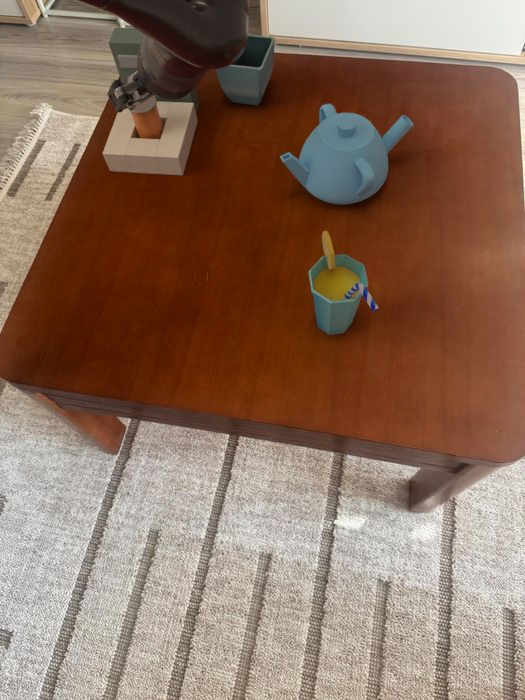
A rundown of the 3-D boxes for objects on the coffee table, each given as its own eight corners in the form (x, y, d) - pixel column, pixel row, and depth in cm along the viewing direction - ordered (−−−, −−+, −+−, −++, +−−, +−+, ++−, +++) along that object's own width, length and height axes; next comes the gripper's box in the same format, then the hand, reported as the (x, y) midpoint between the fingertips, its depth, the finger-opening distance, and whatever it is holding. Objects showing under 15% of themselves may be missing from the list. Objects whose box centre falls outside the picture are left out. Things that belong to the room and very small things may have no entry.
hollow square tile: (109, 171, 92) (102, 153, 88) (128, 118, 98) (122, 99, 94) (183, 175, 90) (178, 157, 87) (197, 121, 96) (193, 102, 92)
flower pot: (233, 77, 101) (227, 31, 93) (278, 82, 99) (275, 36, 91) (219, 108, 97) (212, 63, 89) (265, 114, 96) (262, 69, 88)
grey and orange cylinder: (146, 158, 93) (131, 116, 85) (139, 141, 95) (123, 97, 87) (172, 150, 93) (159, 106, 85) (164, 132, 95) (151, 88, 87)
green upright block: (132, 117, 98) (107, 44, 85) (138, 100, 100) (114, 27, 87) (195, 119, 96) (179, 46, 84) (199, 103, 98) (184, 28, 86)
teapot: (383, 225, 83) (394, 171, 73) (280, 200, 86) (277, 146, 76) (407, 156, 89) (420, 98, 79) (309, 136, 93) (310, 78, 82)
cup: (387, 349, 73) (406, 291, 60) (339, 374, 72) (348, 321, 59) (334, 277, 79) (341, 209, 66) (289, 299, 78) (287, 234, 64)
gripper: (213, -4, 60) (185, 43, 75) (100, 46, 57) (95, 84, 72) (242, 64, 62) (209, 96, 77) (135, 114, 60) (123, 137, 75)
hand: (154, 90), depth 75 cm, fingers open, 8 cm apart
